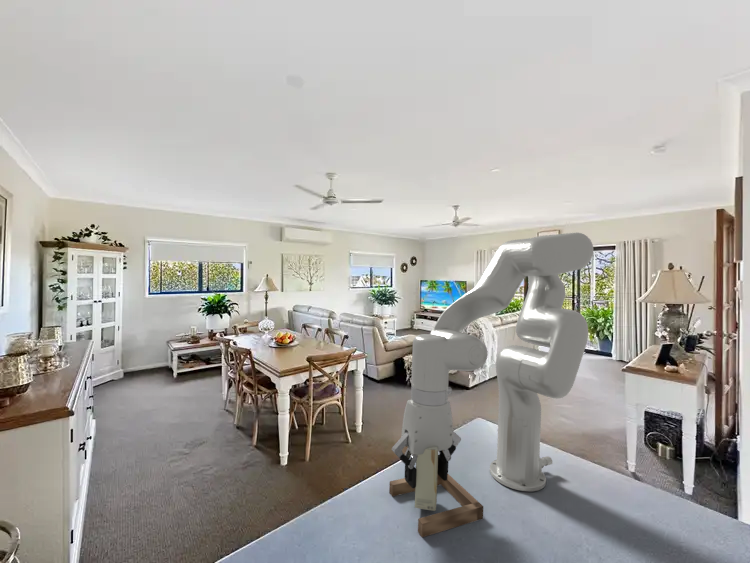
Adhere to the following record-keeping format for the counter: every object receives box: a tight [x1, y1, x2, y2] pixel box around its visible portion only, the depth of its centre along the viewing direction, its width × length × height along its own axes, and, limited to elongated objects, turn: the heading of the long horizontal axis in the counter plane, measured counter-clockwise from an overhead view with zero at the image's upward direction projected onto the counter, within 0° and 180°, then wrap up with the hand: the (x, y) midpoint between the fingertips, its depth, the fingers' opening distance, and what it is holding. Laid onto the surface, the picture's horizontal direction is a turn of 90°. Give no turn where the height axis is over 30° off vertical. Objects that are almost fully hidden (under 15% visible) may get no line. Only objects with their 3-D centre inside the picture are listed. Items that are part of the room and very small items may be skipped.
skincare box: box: [414, 447, 439, 512], centre depth 71 cm, size 6×4×12 cm
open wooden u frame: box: [388, 473, 484, 538], centre depth 72 cm, size 14×14×2 cm
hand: (426, 480), depth 71 cm, fingers closed on skincare box, 6 cm apart
